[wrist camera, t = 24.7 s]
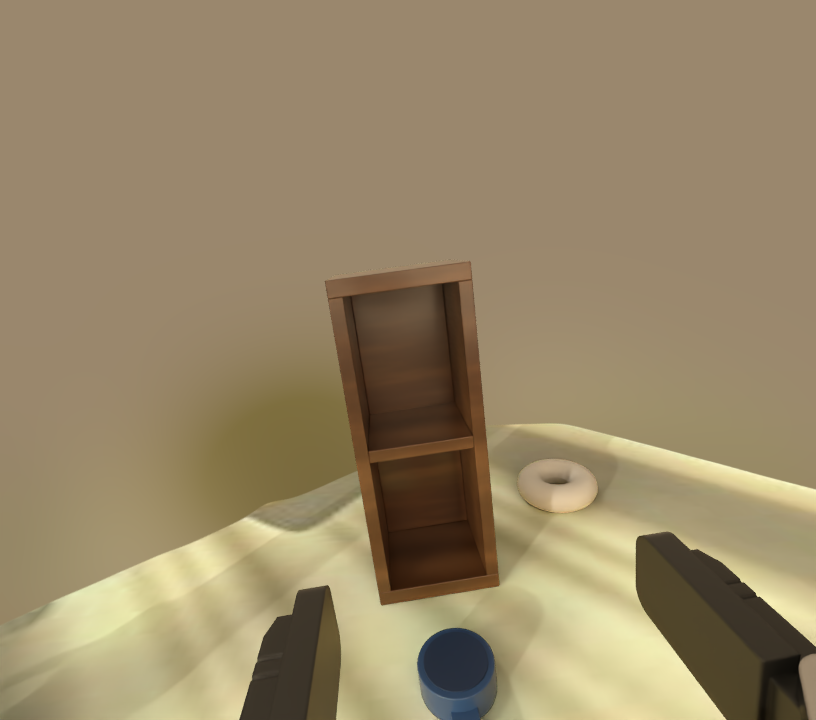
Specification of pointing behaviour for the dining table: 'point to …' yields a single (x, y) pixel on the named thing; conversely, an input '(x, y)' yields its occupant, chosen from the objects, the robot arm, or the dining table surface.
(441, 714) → the blue elongated piece
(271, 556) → the dining table surface
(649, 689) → the dining table surface
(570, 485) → the donut
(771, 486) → the dining table surface
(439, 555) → the shelf
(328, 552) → the dining table surface
